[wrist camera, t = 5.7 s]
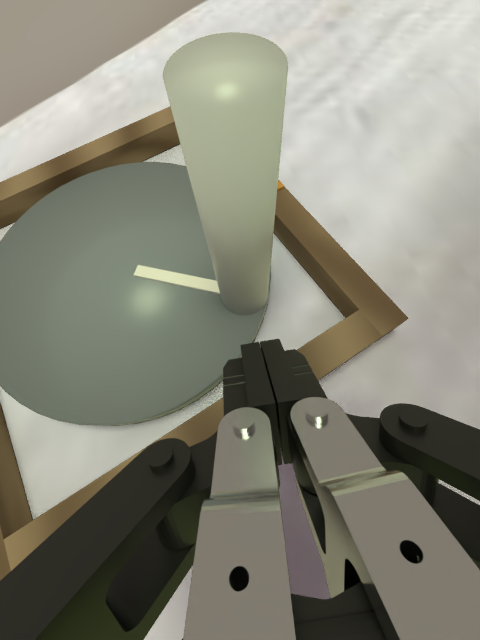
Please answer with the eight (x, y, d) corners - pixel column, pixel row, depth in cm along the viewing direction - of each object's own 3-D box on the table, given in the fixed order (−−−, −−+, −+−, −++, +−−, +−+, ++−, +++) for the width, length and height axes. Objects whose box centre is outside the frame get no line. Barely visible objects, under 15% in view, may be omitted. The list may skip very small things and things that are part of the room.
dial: (188, 146, 25) (121, -136, 13) (328, 316, 19) (479, 80, 6) (-31, 250, 22) (-402, 17, 10) (43, 497, 16) (-847, 785, 3)
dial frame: (201, 117, 27) (196, 91, 25) (393, 329, 18) (410, 317, 16) (-72, 243, 23) (-103, 225, 21) (7, 590, 14) (-34, 616, 12)
